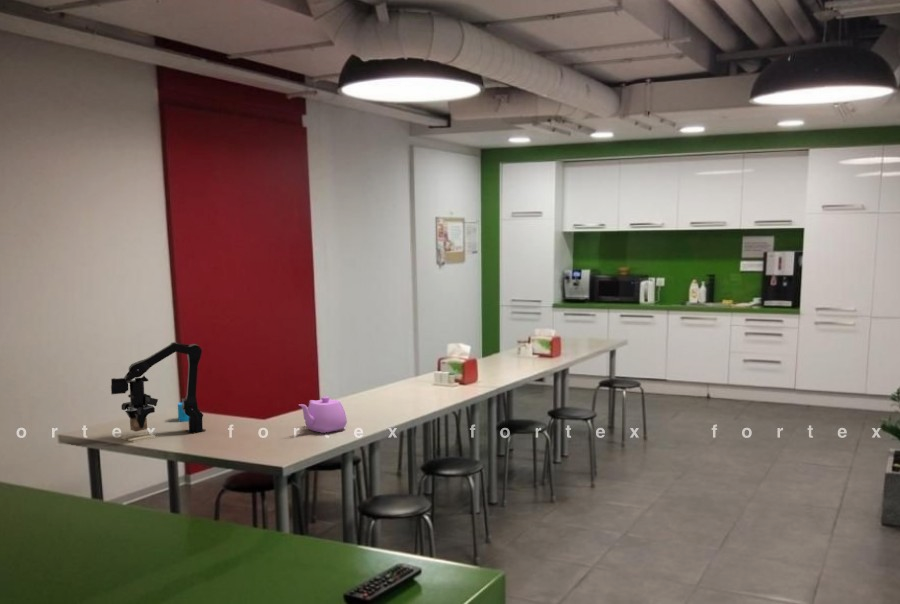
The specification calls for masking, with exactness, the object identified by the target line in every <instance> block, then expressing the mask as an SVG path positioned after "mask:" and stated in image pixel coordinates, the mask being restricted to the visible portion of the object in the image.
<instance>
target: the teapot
mask: <svg viewBox="0 0 900 604" xmlns="http://www.w3.org/2000/svg"><path fill="white" fill-rule="evenodd" d="M320 398H321V399H318V400H317V399H316V400H314V399H310V400H309V401H308V407H307V405H306V404H302V403H301V404H298V406H300V407H301V408H302V413H303V414H302V415H303V419H304V420H305V421H304V423H305V425H306V427H307V429H308V430H311V431H312V432H319V433H322V434H326V432H327V433H330V432H335V431H340V430H343V429H345V427H346V426H347V423H348V421H347V420H348V419H347V415H346V411H345V408H344V406H343V404H342V402H341V401H339V400H337V399H331V398H330V396H328V395H327V396H321V397H320Z"/></svg>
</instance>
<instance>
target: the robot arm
mask: <svg viewBox="0 0 900 604" xmlns="http://www.w3.org/2000/svg"><path fill="white" fill-rule="evenodd" d="M202 352H203V350H202V348H201V347H200V345H198V344H195V343H191V344H185V343H179V342H176V341H174V342H171V343H170V344H168V345H167V346H165V347H163V348H162V349H160V350H159V351H157V352H155V353H154V354H152V355H150V356H148V357H146V358H144V359H141V360H137V361H136V362H133V363H131V364H130V365H129V366H128V372H127V373H126V374H125V376H124V377H120V378H119V377H118V378H115V377H114V378H111V379H110V381H111V382H110V384H111V385H110V393H111V395H120V394H126V393H127V392H128V391H129V394H128V395H127V397H128V398H129V399H130V401H127V402H123V403H122V404H121V407H120V408H121V410H123V411H125V414H126V415H127V416H128V418H129V420H130V419H131V418H137V421H138V424H139V426H140V428H143V427H144V423H145V420H146V418H147V417H148V415H149V414H153V413H155V410H156V409H155V407H157V404H158V400H159V399H158V398H154V397H152V396H151V395H149V394H147V393H145V382H149V379H148V378H147V377H146V376H145V373H147V372H148V371H149V369H151V368H152V367H153V366H155V365H156V364H158V363H159V362H161V361H163V360H165V359H166V358H168V357H169V356H171V355H173V354H174V353H180V354H184V355H186V357H187V363H188V368H187V382H186V383H187V385H186V395H185V398H181V403H182V406H181V407H182V409H183V411H184V412H185V414H186V415H187V416H189V421H188V429H187V430H185V432H187V433H190V434H197V433H201V432H205V431H206V429H204V427H203V418H204V414H203V412H202V411H201V410H200V409H199V407H198V405H199V404H198V400H197V383H198V382H197V381H198V370H199V369H198V367H199V362H200V361H201V357H202V354H203V353H202Z"/></svg>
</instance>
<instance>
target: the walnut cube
mask: <svg viewBox="0 0 900 604" xmlns="http://www.w3.org/2000/svg"><path fill="white" fill-rule="evenodd" d="M147 420H148V419H147V417H146V420H145V423H144V427H143V428H140V426H139V424H138V421H137V418H131V419H130V418H129V423H130V424H129V425H130V431H133V432H141V431H145V430H146V431H147V430H148V421H147Z"/></svg>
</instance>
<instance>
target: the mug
mask: <svg viewBox="0 0 900 604" xmlns="http://www.w3.org/2000/svg"><path fill="white" fill-rule="evenodd" d="M181 406H182V402H179V403H177V416H178V417H177V419H178V422H183V423H186V422H188V423H189V416H187V415H186V414H185V412H184V411H183V409H182V407H181Z"/></svg>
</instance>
